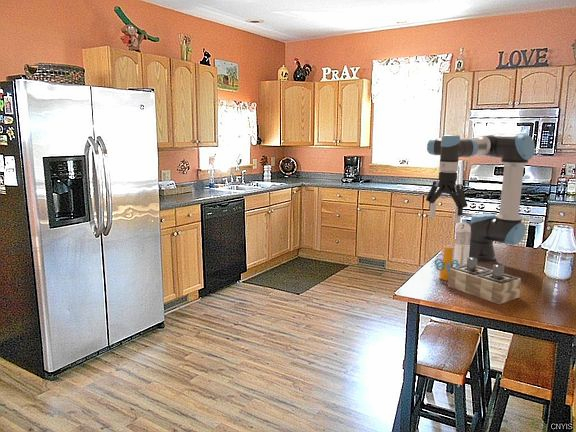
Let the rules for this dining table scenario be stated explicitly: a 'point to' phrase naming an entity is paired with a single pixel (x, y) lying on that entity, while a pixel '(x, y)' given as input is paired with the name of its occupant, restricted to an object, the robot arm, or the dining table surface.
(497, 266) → the peg
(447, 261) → the ringed orange tube
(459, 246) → the water bottle
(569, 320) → the dining table surface
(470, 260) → the peg
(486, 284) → the socket block
